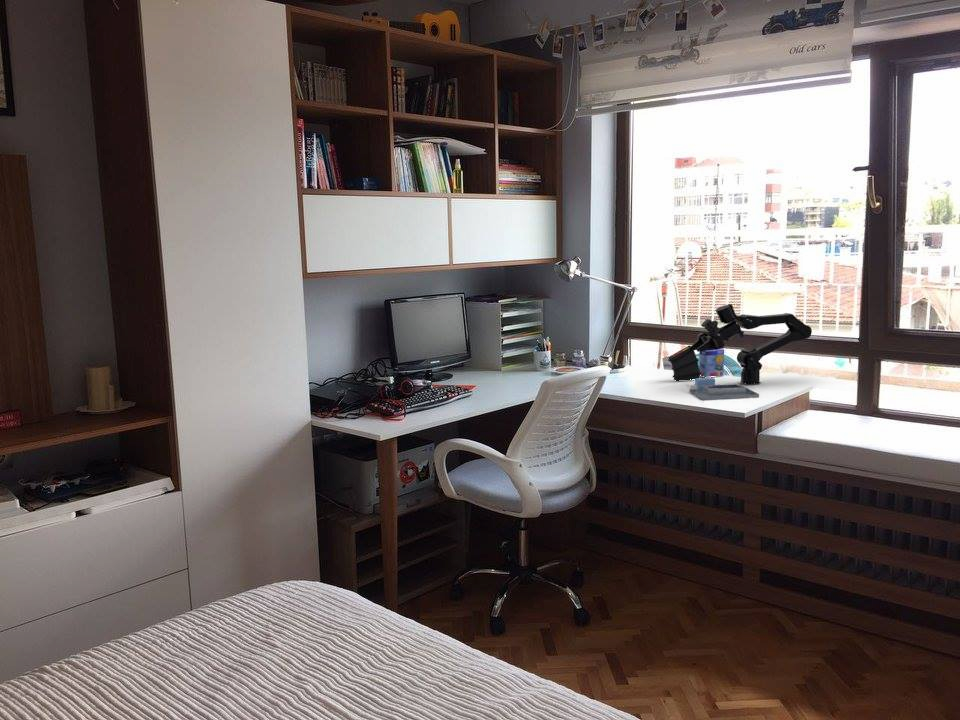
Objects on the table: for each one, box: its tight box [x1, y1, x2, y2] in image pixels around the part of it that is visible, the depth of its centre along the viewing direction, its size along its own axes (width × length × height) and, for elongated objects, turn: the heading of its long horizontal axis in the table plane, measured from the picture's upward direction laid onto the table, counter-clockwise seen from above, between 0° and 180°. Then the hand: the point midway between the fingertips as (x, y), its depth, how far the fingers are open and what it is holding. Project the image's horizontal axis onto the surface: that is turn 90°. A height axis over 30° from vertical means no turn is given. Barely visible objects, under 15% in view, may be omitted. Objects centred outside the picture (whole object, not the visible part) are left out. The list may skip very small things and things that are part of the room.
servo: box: [690, 376, 716, 389], centre depth 330 cm, size 9×4×5 cm, turn 93°
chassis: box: [689, 383, 760, 401], centre depth 318 cm, size 22×16×3 cm
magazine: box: [667, 345, 701, 382], centre depth 351 cm, size 4×13×15 cm, turn 97°
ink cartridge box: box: [698, 348, 725, 377], centre depth 357 cm, size 10×6×14 cm, turn 111°
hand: (692, 350), depth 333 cm, fingers open, 9 cm apart
